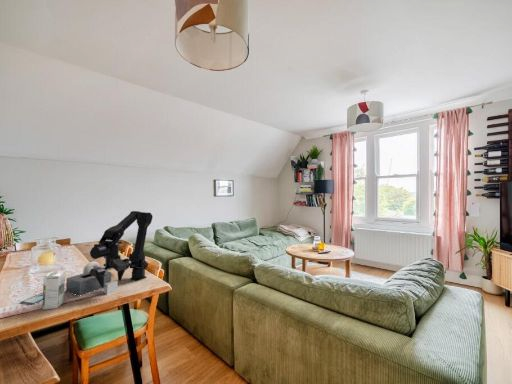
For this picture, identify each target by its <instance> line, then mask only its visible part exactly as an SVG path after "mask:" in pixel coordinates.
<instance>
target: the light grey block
mask: <svg viewBox="0 0 512 384" xmlns="http://www.w3.org/2000/svg"><path fill="white" fill-rule="evenodd" d="M118 285H119V281H118V280H111V282H109V283H106V284H104V288H103V294H104V293H105V294H104V295H106V294H108V295H110V294H112V293H116V292H117V291H119V290H118V288H119V286H118ZM115 291H116V292H115Z"/></svg>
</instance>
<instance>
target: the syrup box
mask: <svg viewBox="0 0 512 384" xmlns="http://www.w3.org/2000/svg"><path fill="white" fill-rule="evenodd" d="M65 280H66V271H53V272H49V273H48V274H46V275H44V277H43V283H42V285H43V287H42V293H43V301H41V302H42V303H41V310H45V311H46V310H55V309H58V308H59V307H60V306H62V305H63V304H64V299H65V284H66V283H65V282H66V281H65Z"/></svg>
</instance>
